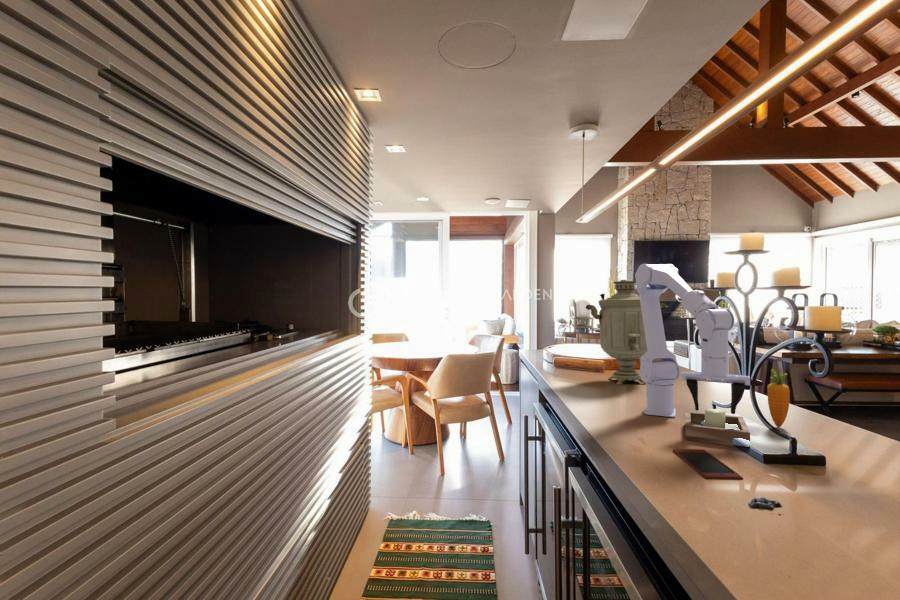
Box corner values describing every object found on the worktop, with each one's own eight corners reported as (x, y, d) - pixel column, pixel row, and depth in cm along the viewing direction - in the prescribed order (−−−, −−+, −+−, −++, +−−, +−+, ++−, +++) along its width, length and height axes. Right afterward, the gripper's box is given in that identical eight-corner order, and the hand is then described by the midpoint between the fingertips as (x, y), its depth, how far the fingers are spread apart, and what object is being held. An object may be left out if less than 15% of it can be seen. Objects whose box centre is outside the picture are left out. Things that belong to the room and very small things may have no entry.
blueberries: (804, 519, 71) (805, 507, 71) (763, 520, 69) (764, 508, 69) (766, 500, 77) (766, 489, 77) (727, 501, 76) (728, 490, 76)
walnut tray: (685, 424, 119) (685, 411, 119) (742, 430, 113) (742, 416, 112) (685, 439, 106) (685, 425, 106) (750, 447, 100) (750, 432, 100)
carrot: (794, 430, 112) (794, 372, 112) (772, 429, 113) (772, 371, 113) (784, 424, 117) (783, 368, 116) (763, 424, 118) (762, 368, 117)
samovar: (582, 387, 166) (581, 281, 165) (588, 374, 190) (588, 282, 190) (670, 393, 155) (669, 279, 154) (665, 379, 179) (664, 280, 178)
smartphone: (705, 476, 84) (671, 448, 99) (705, 481, 84) (671, 452, 99) (744, 476, 84) (704, 448, 99) (744, 481, 84) (704, 453, 99)
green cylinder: (704, 427, 112) (704, 408, 112) (724, 429, 110) (724, 410, 110) (704, 432, 108) (704, 412, 108) (725, 435, 106) (725, 414, 106)
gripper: (681, 357, 109) (681, 411, 109) (752, 361, 102) (751, 419, 102) (681, 353, 115) (681, 405, 115) (748, 356, 108) (747, 411, 109)
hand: (714, 411), depth 109 cm, fingers open, 7 cm apart
